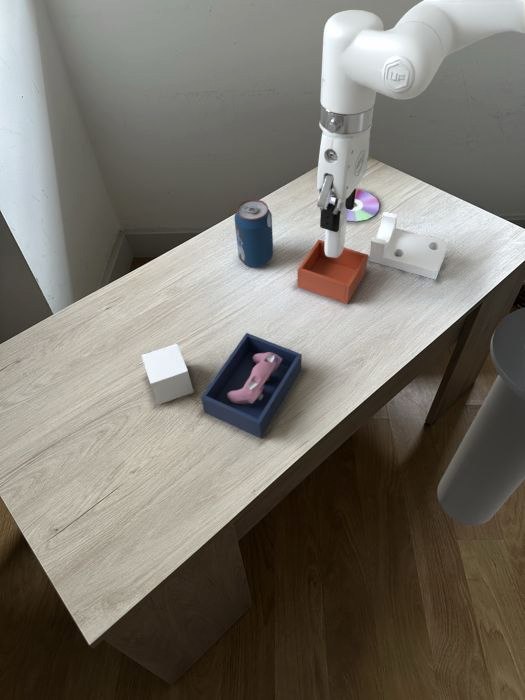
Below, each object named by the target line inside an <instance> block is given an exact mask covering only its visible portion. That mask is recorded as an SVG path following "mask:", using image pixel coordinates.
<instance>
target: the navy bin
mask: <svg viewBox="0 0 525 700" xmlns="http://www.w3.org/2000/svg"><path fill="white" fill-rule="evenodd" d="M267 352H272V353H274V354H276V355H278V356H279V357H281V358H282V361H281V363H280V364H279V366H278V368H277V369H276V370H275V371H274V372H273V373H272V374H271V375H270V376H269V377H270V379H269V380H268V381H266V382H265V383H264V384H263V385H264V388H263V390H262V392H261V395H262V394H263V398H262V399H261V400H259V398H258V399H256V400H255V401H254V402H253V403H252V404H251V403H248V404H235V403H233V402H231V401H229V399H228V398H227V393H228V392H230V391H236V390H240V389H242V388H243V387H244V385H245V383H246V382H247V380H248V379H249V377H250V376H251V372H252V370H253V368H254V367H255V366H256V365H257V364H256V363H255V362H254V361H253V359H252V358H253V356H254V355H255V354H258V353H267ZM302 356H303V354H302V353H300V352H298V351H294V350H292V349H289V348H287V347H284V346H282V345H279V344H276V343H274V342H272V341H269V340H266V339H264V338H261V337H259V336H256V335H254V334H251V333H248V332H246V333H245V334H244V335H243V336H242V338H241V340H240V341H239V343H238V344H237V345H236V347H235V348H234V349H233V351H232V352H231V354H230V355H229V357H228V358H227V360H225V362H224V364H223V366H221V368H220V369H219V371H218V372H217V373H216V375H215V377H214V378H213V379H212V380H211V382H210V383H209V385H208V386H207V387H206V389H205V390H204V392H203V393H202V395H201V396H200V400H201V404H202V407H203V411H204V414H207V415H208V416H211V417H213V418H215V419H218V420H219V421H222V422H224V423H225V424H228V425H231V426H232V427H235V428H237V429H240V430H241V431H243V432H245V433H248V434H250V435H252V436H254V437H257V438H258V439H262V438H263V436H264V435H265V433H266V431H267V430H268V428H269V426H270V425H271V423H272V421H273V419H274V418H275V416H276V415H277V413H278V411H279V409H280V408H281V406H282V404H283V403H284V401H285V400H286V397H287V396H288V395H289V393H290V391H291V389H292V388H293V386H294V384H295V383H296V381H297V379H298V378H299V377H300V374H301V373H302V365H303V364H302V363H303V361H302V359H303V357H302ZM258 400H259V401H258Z"/></svg>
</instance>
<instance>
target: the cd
mask: <svg viewBox="0 0 525 700" xmlns="http://www.w3.org/2000/svg"><path fill="white" fill-rule="evenodd" d="M329 202H330V203H331V197H330V198H329ZM354 204H356V206H354V208H353V210H348V209H347V222H362V221H367V220H369V219H372V218H373V217H375V216H376V214H377V213H378V212H379V210H380V202H379V201H378V199H377V198H376V197H375V196H374V195H373V194H371V193H370V192H368V191H364V190H361V189H356V195H355V203H354Z"/></svg>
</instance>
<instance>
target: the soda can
mask: <svg viewBox="0 0 525 700" xmlns="http://www.w3.org/2000/svg"><path fill="white" fill-rule="evenodd" d="M234 229H235V236H236V245H237V247H236V248H237V255H238V259H239V260H240V262H242V264H244V265H245V267H248V268H250V269H259V268H263V267H265V266H266V265H268V263H269V262H270V261H271V260H272V258H273V257H274V239H273V238H274V237H273V236H274V235H273V216H272V212H271V211H270V209H269V206H268V204H267V203H266V202H265V201H263V200H260V199H247V200H244V201H241V203H239V204H238V206H237V207H236V212H235V214H234Z"/></svg>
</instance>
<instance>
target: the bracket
mask: <svg viewBox="0 0 525 700" xmlns="http://www.w3.org/2000/svg"><path fill="white" fill-rule="evenodd" d="M397 221H398V214H396V213H391V212H387V211H383V213H382V215H381V221H380V225H379V228H378V231H377V233H376V236H375V237H374V236H372V238H371V239H370V253H369V262H372V263H375V264H379V265H382V266H386V267H389V268H393V269H397V270H400V271H403V272H407V273H410V274H414V275H418V276H422V277H425V278H428V279H432V280H435V281H436V280H437V278H438V275H439V272H440V270H441V267H442V265H443V263H444V260H445V257H446V255H447V252H448V248H449V245H450V241H447V240H444V239H439V238H435V237H432V236H428V235H425V234H421V233H416V232H412V231H408V230H405V229H402V228H401V229H400V228H398V227H397Z"/></svg>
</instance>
